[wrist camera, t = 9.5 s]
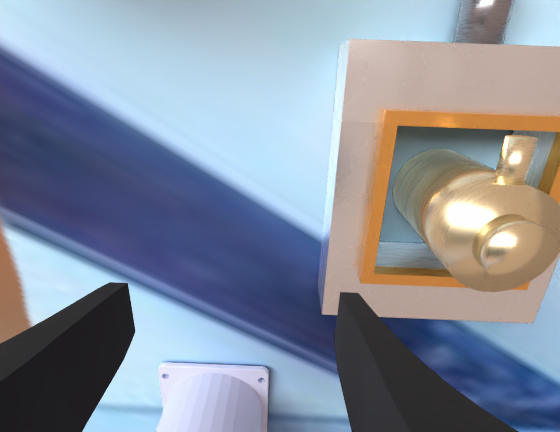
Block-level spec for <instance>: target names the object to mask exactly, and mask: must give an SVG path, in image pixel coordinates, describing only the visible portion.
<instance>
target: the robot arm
mask: <svg viewBox="0 0 560 432" xmlns="http://www.w3.org/2000/svg"><path fill="white" fill-rule="evenodd" d="M134 334H135V326H134V320H133V313H132V307H131V301H130V295H129V289H128V283H111V282H110V283H108V284H106V285H104V286H102V287H100V288H98V289H97V290H95V291H93V292H91V293H90V294H88V295H86V296H85V297H83V298H81V299H80V300H78V301H76V302H75V303H73V304H71V305H70V306H68V307H66V308H64V309H63V310H61V311H59V312H58V313H56V314H54V315H53V316H51V317H49V318H47V319H45V320H44V321H42V322H40V323H38V324H36V325H35V326H33V327H31V328H29V329H27V330H26V331H24V332H22V333H20V334H18V335H16V336H15V337H12V338H11V339H9V340H7V341H5V342H3V343H1V344H0V432H82V431H83V429H84V427H85V425H86V423H87V422H88V420H89V418H90V417H91V415H92V413H93V411H94V410H95V408H96V406H97V405H98V403H99V401H100V400H101V398H102V396H103V394H104V393H105V391H106V389H107V388H108V386H109V384H110V383H111V381H112V379H113V377H114V376H115V374H116V372H117V370H118V369H119V367H120V365H121V363H122V361H123V360H124V358H125V355H126V353H127V351H128V348H129V346H130V344H131V341H132V339H133V336H134ZM334 342H335V352H336V361H337V369H338V374H339V378H340V383H341V387H342V391H343V396H344V400H345V404H346V409H347V413H348V417H349V422H350V426H351V430H352V432H518V431H517V430H515V429H513V428H512V427H510V426H509V425H507V424H505V423H504V422H502V421H501V420H499V419H497V418H496V417H494V416H493V415H491V414H490V413H488V412H487V411H485V410H484V409H482V408H481V407H479V406H478V405H477V404H475V403H474V402H472V401H471V400H470V399H468V398H467V397H466V396H464V395H463V394H461V393H460V392H459V391H457V390H456V389H455V388H453V387H452V386H451V385H449V384H448V383H447V382H446V381H444V380H443V379H442V378H441V377H440V376H438V375H437V374H436V373H435V372H434V371H432V370H431V369H430V368H429V367H428V366H426V365H425V364H424V363H423V362H422V361H421V360H420V359H419V358H417V357H416V356H415V355H414V354H413V353H412V352H411V351H410V350H409V349H408V348H407V347H406V346H405V345H404V344H403V343H402V342H401V341H400V340H399V339H398V338H397V337H396V336H395V335H394V334H393V332H392V331H391V330H390V329H389V328H388V327H387V326H386V325H385V324H384V323H383V321H382V320H381V319H380V318H379V317H378V316H377V314H376V313H375V312H374V311H373V310H372V309H371V307H370V306H369V305H368V304H367V303H366V301H365V300H364V299H363V298H362V297H361V295H360V294H359V293H351V292H340V297H339V305H338V313H337V321H336V330H335V338H334ZM158 373H159V381H160V388H161V395H162V403H163V412H162V415H161V418H160V421H159V423H158V426H157V429H156V431H155V432H267V416H268V383H269V370H268V369H267V368H266V367H263V366H243V365H219V364H196V363H173V362H163V363H161V364H160V366H159V368H158ZM167 374H168V375H167ZM261 378H264V379H261Z"/></svg>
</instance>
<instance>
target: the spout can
mask: <svg viewBox="0 0 560 432" xmlns="http://www.w3.org/2000/svg"><path fill="white" fill-rule="evenodd" d="M537 141H538V138H536V137H531V136H522V135H506V136H505V138H504V142H503V146H502V150H501V153H500V157H499V161H498V165H497V169H496V170H494V169H492V168H490V167H487V166H485V165H483V164H481V163H479V162H476V161H474V160H472V159H470V158H468V157H465V156H463V155H461V154H459V153H457V152H454V151H452V150H448V149H441V148H439V149H430V150H426V151H423V152H421V153H419V154H417V155H415V156H413V157H412V158H411V159H409V160H408V161H407V162H406V163H405V164H404V165H403V166H402V168H401V169H400V170H399V172H398V174H397V176H396V178H395V181H394V185H393V199H394V202H395V205H396V207H397V209H398V210H399V211H400V213H401V214H402V215H403V216H404V218H405V219H406V220H407V221H408V222H409V224H410V225H411V226H412V227H413V228H414V230H415V231H416V232H417V233H418V235H419V236H420V237H421V238H422V239H423V241H424V242H425V243H426V244H427V245H428V247H429V248H430V249H431V250H432V251H433V253H434V254H435V255H436V256H437V258H438V259H439V260H440V261H441V262H442V264H443V265H444V266H445V267H446V268H447V270H448V271H449V272H450V273H451V274H452V276H453V277H454V278H455V279H456V280H457V281H458V282H460V283H461V284H463V285H464V286H466V287H468V288H471V289H474V290H477V291H483V292H499V291H506V290H510V289H513V288H516V287H519V286H522V285H524V284H526V283H528V282H530V281H531V280H533V279H535V278H536V277H538V276H539V275H540V274H542V273H543V272H544V271H545V270H546V269H547V268H548V267H549V266H550V265H551V264H552V263H553V261H554V260H555V259H556V257H557V256H558V254H559V252H560V205H559V204H558V203H557V201H556V200H555V199H553V198H552V197H551V196H550V195H548V194H546V193H544V192H543V191H540V190H538V189H536V188H534V187H531V186H529V185H527V184H525V182H526V178H527V175H528V171H529V168H530V165H531V161H532V158H533V155H534V151H535V148H536V145H537Z"/></svg>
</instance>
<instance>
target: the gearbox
mask: <svg viewBox="0 0 560 432" xmlns="http://www.w3.org/2000/svg"><path fill="white" fill-rule="evenodd" d="M513 3H514V0H462V3H461V8H460V13H459V17H458V22H457V27H456V32H455V37H454V42H453V43H445V42H418V41H392V40H365V39H349V40H347V41H345V42H344V43H342V44H340V45H339V56H338V67H337V78H336V89H335V100H334V111H333V122H332V132H331V143H330V154H329V165H328V176H327V187H326V198H325V209H324V220H323V231H322V242H321V253H320V264H319V275H318V291H319V298H320V305H321V312H322V314H323V315H337V313H338V305H339V297H340V292H351V293H359V294H360V295H361V297H362V298H363V299H364V300H365V301H366V303H367V304H368V305H369V306H370V307H371V309H372V310H373V311H374V312H375V313H376V314H377V316H378V317H395V318H419V319H442V320H466V321H490V322H514V323H533V322H534V319H535V317H536V314H537V312H538V309H539V307H540V304H541V302H542V299H543V297H544V294H545V292H546V289H547V287H548V284H549V282H550V279H551V277H552V274H553V272H554V269H555V267H556V264H557V262H558V259H559V257H560V252H559V254H558V256H557V257H556V259H555V260H554V261H553V263H552V264H551V265H550V266H549V267H548V268H547V269H546V270H545V271H544V272H543V273H542V274H540V275H539V276H538V277H536V278H535V279H533V280H531V281H530V282H528V283H526V284H524V285H522V286H519V287H516V288H513V289H510V290H506V291H499V292H483V291H477V290H474V289H471V288H468V287H466V286H464V285H463V284H461V283H460V282H458V281H457V280H456V279H455V278H454V277H453V276H452V274H451V273H450V272H449V271H448V270H447V268H446V267H445V266H444V265H443V264H442V262H441V261H440V260H439V259H438V258H437V256H436V255H435V254H434V253H433V251H432V250H431V249H430V248H429V247H428V245H427V244H426V243H404V242H379V238H380V232H381V226H382V220H383V214H384V208H385V201H386V195H387V189H388V183H389V177H390V171H391V165H392V159H393V153H394V146H395V140H396V134H397V128H398V126H422V127H447V128H473V129H499V130H513V134H512V135H522V136H531V137H536V138H538V141H537V145H536V148H535V151H534V155H533V158H532V161H531V165H530V168H529V171H528V175H527V178H526V182H525V184H527V185H529V186H531V187H534V188H536V189H538V190H540V191H543V192H544V193H546V194H548V195H550V196H551V197H552V198H553V199H555V200H556V201H557V203H558V204H559V205H560V47H552V46H525V45H503V42H504V38H505V34H506V30H507V26H508V23H509V19H510V15H511V11H512V7H513Z"/></svg>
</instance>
